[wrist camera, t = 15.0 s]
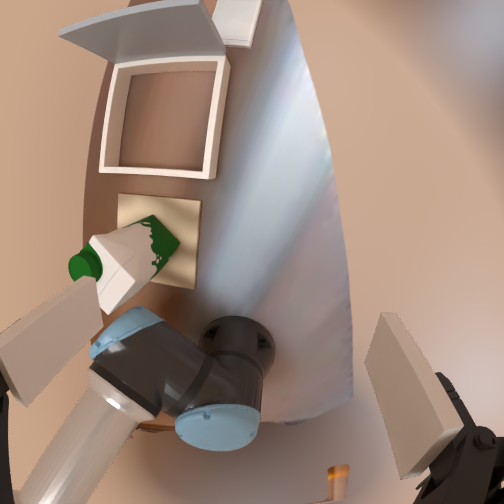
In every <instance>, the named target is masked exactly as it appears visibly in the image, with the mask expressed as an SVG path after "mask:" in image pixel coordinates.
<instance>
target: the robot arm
mask: <svg viewBox="0 0 504 504" xmlns="http://www.w3.org/2000/svg"><path fill="white" fill-rule="evenodd" d="M102 327H103V321H102V316H101V311H100V305H99V299H98V293H97V286H96V279H95V278H93V277H88V276H83V277H81V278H79V279H78V280H76V281H75V282H73V283H72V284H70V285H69V286H67V287H66V288H64V289H63V290H61V291H60V292H58V293H57V294H55V295H54V296H52V297H51V298H49V299H48V300H46V301H45V302H43V303H42V304H41V305H39V306H38V307H36V308H35V309H34V310H32V311H31V312H29V313H28V314H26V315H25V316H24V317H22V318H21V319H19V320H18V321H16V322H15V323H14V324H12V326H10V327H8V328H7V329H6V330H4V331H3V332H2V333H0V504H86V503H87V501H88V500H89V498H90V496H91V495H92V493H93V492H94V491H95V489H96V488H97V486H98V484H99V483H100V481H101V480H102V479H103V477H104V476H105V474H106V473H107V471H108V469H109V468H110V466H111V465H112V463H113V462H114V460H115V459H116V457H117V456H118V454H119V453H120V451H121V450H122V448H123V447H124V445H125V444H126V442H127V440H128V439H129V438H130V436H131V435H132V433H133V432H134V430H135V429H136V427H137V426H138V424H139V423H140V422H143V421H149V420H155V418H156V417H157V415H158V414H159V412H160V411H161V410H162V411H163V412H165V413H166V414H168V415H170V416H171V417H173V418H174V419H176V420H175V431H176V433H177V434H179V437H180V438H181V439H182V440H184V441H185V442H187V443H188V444H190V445H193V446H195V447H198V448H201V449H205V450H211V451H230V450H235V449H239V448H242V447H244V446H246V445H248V444H249V443H250V442H251V441H252V440H253V439H254V438H255V436H256V434H257V430H258V426H259V422H260V420H261V415H260V412H261V400H262V387H263V379H264V377H265V376H266V374H267V373H268V371H269V369H270V368H271V366H272V364H273V361H274V354H275V346H274V342H273V339H272V337H271V335H270V334H269V332H268V331H267V330H266V329H265V328H264V327H263V326H261V325H260V324H259V323H257V322H255V321H253V320H251V319H248V318H244V317H238V316H229V317H223V318H219V319H217V320H215V321H213V322H211V323H210V324H209V325H208V326H207V327H206V328H205V329H204V331H203V333H202V335H201V337H200V339H199V343H198V346H197V345H195V344H194V343H193V342H191V341H190V340H188V339H187V338H186V337H184V336H183V335H182V334H180V333H179V332H178V331H177V330H175V329H174V328H173V327H172V326H170V325H169V324H168V323H167V322H166V320H164V319H162V318H160V317H158V316H157V315H156V314H154V313H153V312H151V311H150V310H149V309H147V308H146V307H143V306H136V307H133V308H131V309H129V310H128V311H126V312H125V313H124V314H122V315H121V316H120V317H119V318H117V319H116V320H115V321H114V322H113V323H112V324H111V325H110V326H109V327H108V328H107V329H106V330H105V331H104V332H103V333H102V334H101V335H100V336H99V339H97V340H96V341H95V342H94V343H93V345H92V346H91V348H90V349H89V355H90V357H91V359H92V360H94V362H93V363H92V365H91V366H90V367H89V369H88V375H89V381H90V384H89V387H88V388H87V390H86V391H85V393H84V394H83V395H82V397H81V398H80V400H79V401H78V402H77V404H76V405H75V407H74V408H73V410H72V411H71V412H70V414H69V415H68V417H67V418H66V420H65V421H64V423H63V424H62V426H61V427H60V429H59V430H58V432H57V433H56V435H55V436H54V438H53V439H52V441H51V442H50V444H49V445H48V447H47V448H46V450H45V451H44V453H43V454H42V456H41V457H40V459H39V461H38V462H37V464H36V465H35V467H34V469H33V470H32V472H31V474H30V475H29V477H28V478H27V480H26V482H25V483H24V485H23V487H22V489H21V490H20V491H18V490H12V484H11V475H10V465H9V451H8V408H9V398H8V395H7V393H6V392H7V391H8V390H9V389H10V391H11V393H12V394H13V396H14V398H15V400H16V401H18V402H19V403H21V404H22V405H24V406H25V407H28V406H29V405H30V403H32V401H33V400H34V399H35V398H36V397H37V396H38V395H39V394H40V392H41V391H42V390H43V389H44V388H45V387H46V386H47V385H48V384H49V382H50V381H51V380H52V379H53V378H54V377H55V376H56V375H57V374H58V373H59V372H60V371H61V370H62V368H63V367H64V366H65V365H66V364H67V363H68V362H69V361H70V360H71V359H72V358H73V357H74V356H75V355H76V354H77V353H78V352H79V351H80V349H82V347H84V346H85V344H86V343H87V342H88V341H89V340H90V339H91V338H92V337H93V336H94V335H95V334H96V333H97V332H98V331H99V330H100V329H101V328H102ZM365 365H366V368H367V371H368V374H369V377H370V379H371V382H372V385H373V388H374V391H375V394H376V397H377V400H378V403H379V407H380V410H381V413H382V416H383V419H384V423H385V426H386V429H387V433H388V436H389V439H390V442H391V446H392V450H393V453H394V457H395V461H396V465H397V468H398V472H399V476H400V480H402V479H407V478H411V477H416V476H419V475H421V474H422V472H424V471H425V470H426V469H427V468H428V467H429V469H430V472H431V474H430V475H429V476H428V477H427V478H425V479H424V480H423V481H422V482H421V483H420V484H419V485H418V486H417V487H416V490H418V489H419V488H420V487H422V488H421V490H420V492H419V494H418V496H417V498H416V499H415V501H414V503H413V504H504V487H503V488H501V482H502V481H504V437H496V436H495V434H494V433H493V432H492V431H491V430H490V429H488V428H487V427H482V426H476V425H475V423H474V421H473V419H472V417H471V416H470V414H469V412H468V410H467V409H466V407H465V405H464V403H463V402H462V400H461V399H460V397H459V395H458V393H457V392H455V388H454V387H453V385H452V383H451V382H450V381H449V379H448V378H446V377H445V376H444V375H443V374H442V373H441V372H438V373H435V372H434V371H433V369H432V368H431V366H430V364H429V363H428V361H427V359H426V358H425V356H424V355H423V353H422V351H421V350H420V348H419V347H418V345H417V344H416V342H415V341H414V339H413V337H412V336H411V334H410V333H409V332H408V330H407V329H406V327H405V326H404V324H403V323H402V321H401V320H400V318H399V317H398V315H397V314H396V313H384V312H381V314H380V318H379V321H378V324H377V327H376V331H375V333H374V336H373V339H372V342H371V345H370V348H369V351H368V354H367V357H366V359H365Z"/></svg>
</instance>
